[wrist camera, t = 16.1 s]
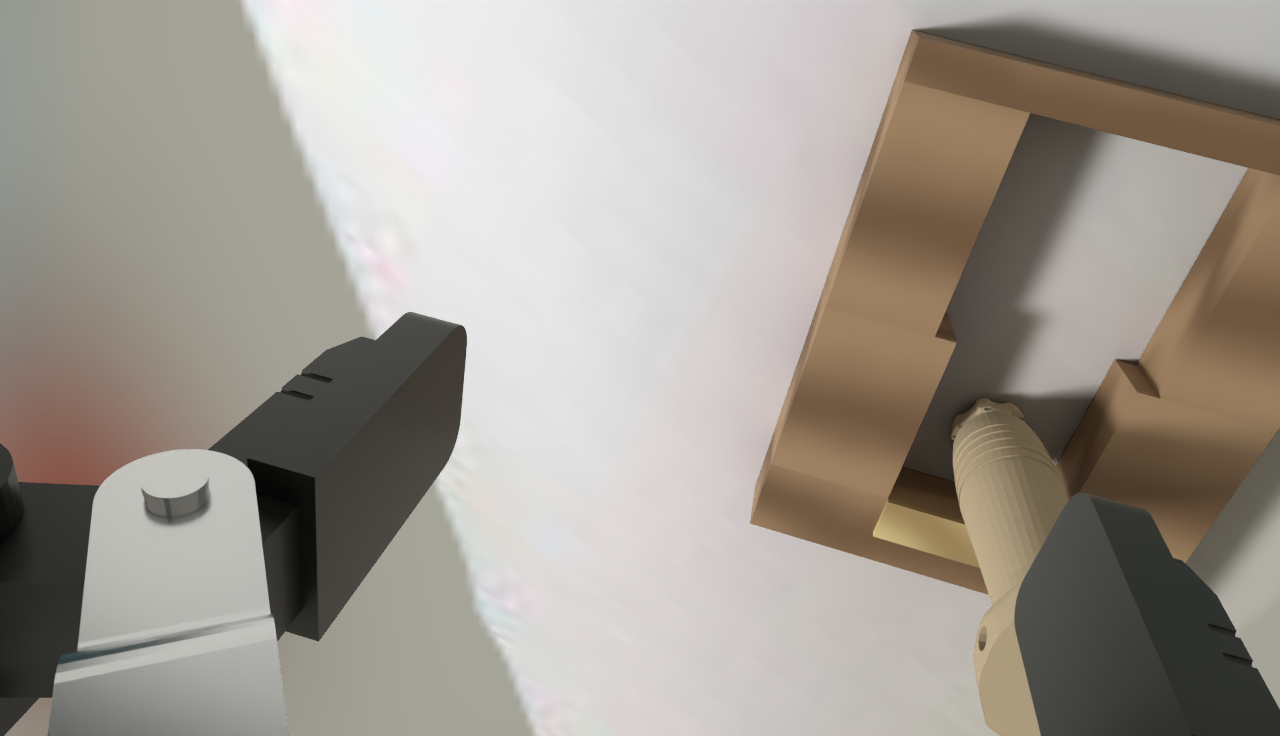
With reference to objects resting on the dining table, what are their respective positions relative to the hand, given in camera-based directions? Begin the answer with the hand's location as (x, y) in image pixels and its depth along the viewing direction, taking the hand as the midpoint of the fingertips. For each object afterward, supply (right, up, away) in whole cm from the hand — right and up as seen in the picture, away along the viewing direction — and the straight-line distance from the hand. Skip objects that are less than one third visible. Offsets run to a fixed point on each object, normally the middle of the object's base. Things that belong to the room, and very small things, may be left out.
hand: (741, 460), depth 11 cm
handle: (+15, -1, +27) cm, 31 cm away
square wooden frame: (+15, +2, +25) cm, 30 cm away
